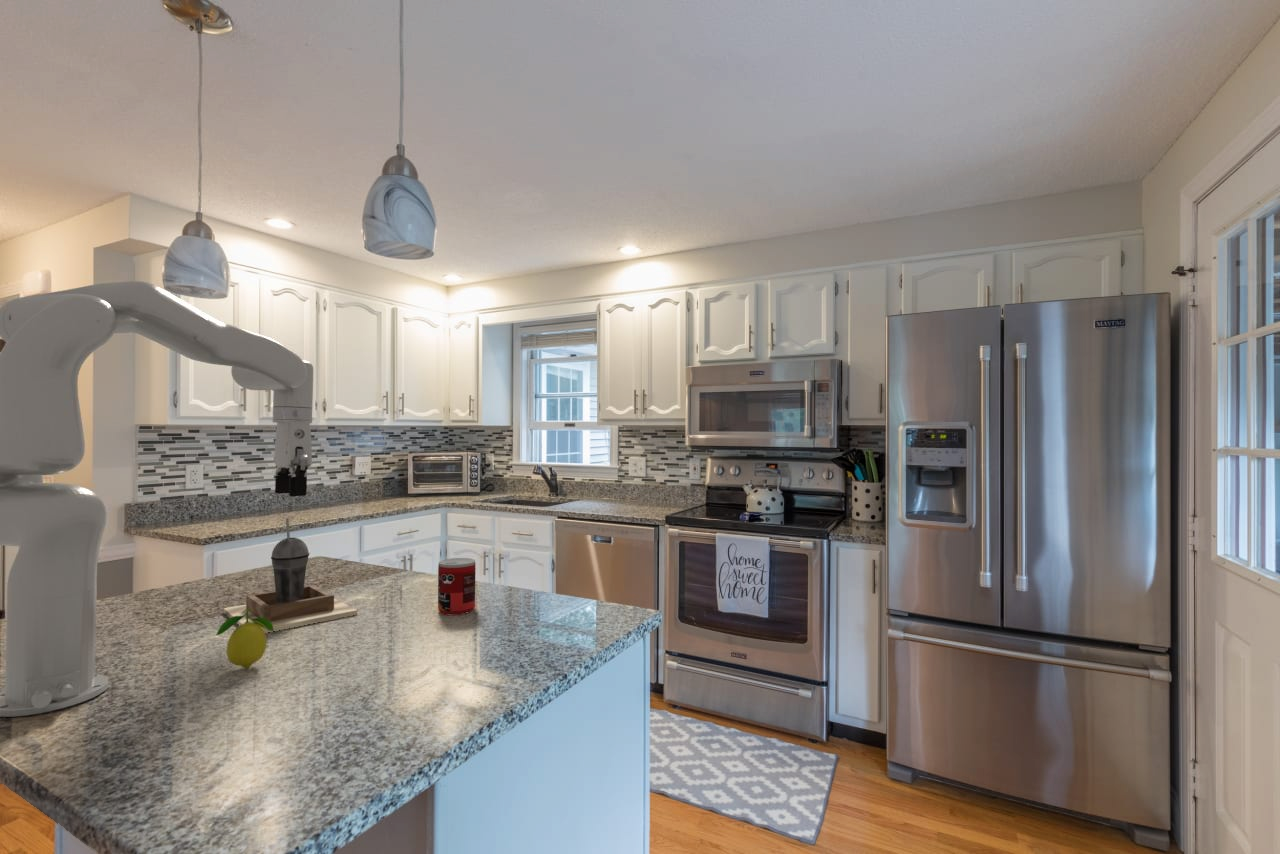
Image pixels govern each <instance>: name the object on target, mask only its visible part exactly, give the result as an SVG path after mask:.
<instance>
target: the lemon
mask: <svg viewBox="0 0 1280 854" xmlns="http://www.w3.org/2000/svg"><path fill="white" fill-rule="evenodd" d="M246 614H247V615H246ZM246 614H245V615H246V622H245V623H244V624H243V625H241V626H238V627H236V628H235V629H234V630H233V631H232V633H231V635H230V636H229V639H228V640H227V645H226V655H227V658H228V660H229V662H230V663H231V664H232V665H235V666H237V667H239V666H240V667H243V668H244V669H245V670H246V669H249V668H250V667H251V666H252V665H253V664H254V663H256V662H258V661H259V660H261V658H262V657H263V655H265V651H266V649H267V648H266V647H267V637H266V633H264V631H263V629H262V628H264V629H267V630H270V631H274V630H273V625H272V624H271V622H270V621H269V620H267V619H266V618H254V619H251V618H249V617H248V608H247V613H246ZM245 615H244V616H245ZM244 616H234V617H231V618H229V617H228V618H227V619H226V620H225V621H224V622H223V623H222V624H221V625H220V628H219V629H218V630H217V633H216V635H215V636H219V635H220V636H221V635H222V634H223V633H225V632H226V631H227V630H229V629H230V628H232V627H233V626H234V625H236V623H237V622H238V621H239V620H240V619H242V618H243V617H244ZM248 618H249V619H251V620H252V621H253V622H254V623H251V622H249V621H248ZM261 627H262V628H261Z"/></svg>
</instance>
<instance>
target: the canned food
mask: <svg viewBox="0 0 1280 854" xmlns="http://www.w3.org/2000/svg"><path fill="white" fill-rule="evenodd" d="M476 570H477V569H476V559H473V558H469V557H453V558H452V557H451V558H445V559H443V560H442V559H441V560H439V561H438V570H437V573H438V575H437V577H438V578H437V579H438V580H437V581H438V582H437V609H438V612H439V613H440V614H442V615H446V614H459V615H463V614H462V613H465V614H467V613H466V612H469V613H471V612H473V611H474V609H475V608H476V607H475V606H476ZM472 610H473V611H472ZM470 611H471V612H470Z"/></svg>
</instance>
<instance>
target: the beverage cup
mask: <svg viewBox="0 0 1280 854" xmlns="http://www.w3.org/2000/svg"><path fill="white" fill-rule="evenodd" d="M289 519H290V518H289V517H286V518H285V524H286V525H285V526H286V527H285V528H286V538H283V539H281V540H279V541H278V543H276V545H275V546H274V547H273V550H272V552H271V557H270V559H271V564H272V568H273V576H274V577H273V578H274V589H275V590H274V591H276V604H280V603H286V602H292V601H298V600H303V592H304V586H305V580H306V574H307V573H306V572H307V571H306V570H307V565H308V563H309V562H308V561H309V557H310V552H309V549H308V546H307V544H306V543H305V541H304V540H302V539H300V538H298V537H291V536H290V521H289Z"/></svg>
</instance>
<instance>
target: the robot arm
mask: <svg viewBox="0 0 1280 854" xmlns="http://www.w3.org/2000/svg"><path fill="white" fill-rule="evenodd" d="M124 333H125V334H126V333H132V334H133V333H135V334H137V335H141V336H142V337H145V338H146V339H149V340H151V341H153V342H155V343H157V344H159V345H160V346H162V347H163V346H164V347H165V348H167V349H169V350H171V351H174V352H175V353H178V354H179V355H182V356H183V357H186V358H188V359H190V360H193V361H196V362H201V363H205V364H210V365H211V364H212V365H217V366H219V365H220V366H226V367H231V368H230V369H231V371H230V373H231V376H232V379H233V380H234V382H235V383H236V384H237V385H238V386H240V387H241V388H244V389H247V390H250V391H273V396H272V397H273V399H272V401H273V404H272V423H274V424H276V430H275V439H274V440H275V441H274V442H275V443H274V465H275V468H276V469H275V476H274V477H275V480H274V481H275V482H274V483H275V484H274V486H275V487H274V493H275V494H288V496H290V497H305V496H306V495H307V489H308V488H307V486H308V485H307V484H308V472H307V470H308V469H309V468H310V467H312V464H313V462H312V461H313V455H312V454H313V451H312V431H311V430H312V429H311V424H313V399H314V398H313V397H314V366H313V363H311V362H310V361H307V360H303V359H302V358H301V357H300V356H299V355H298V354H297V353H295V352H294V351H293V350H291V349H289V348H288V347H286V346H285V345H283V344H282V343H279V342H278V341H276V340H274V339H272V338H270V337H267V336H264V335H262V334H259V333H255V332H253V331H250V330H246V329H243V328H241V327H238V326H235V325H232V324H228V323H226V322H222V321H220V320H217V319H216V318H214V317H212V316H210V315H209V314H206V313H205V312H202V311H201V310H199V309H198V308H196V307H195V306H192V305H191V304H189V303H187V302H186V301H184V300H183V299H181V298H179V297H177V296H176V295H174V294H172V293H170V292H169V291H167V290H165V289H163V288H161V287H160V286H158V285H155V284H153V283H150V282H148V281H139V280H133V281H132V280H131V281H130V280H129V281H115V282H104V283H97V284H91V285H85V286H81V287H76V288H69V289H64V290H58V291H51V292H47V293H40V294H34V295H26V296H21V297H17V298H13V299H11V300H9V301H7V302H5V303H4V304H3V305H1V306H0V338H1V339H2V340H3V341H4V342H5V345H3V347H2V349H1V351H0V546H6V547H8V546H9V547H19V548H18V551H17V553H16V555H15V557H14V560H13V562H12V565H11V567H10V570H9V573H8V577H7V582H6V583H7V585H6V624H5V626H6V628H5V629H6V630H5V631H6V633H5V636H6V637H5V640H6V641H5V669H4V670H5V676H4V681H5V682H4V683H5V684H4V692H2V693H1V694H0V717H5V718H6V717H7V718H10V717H13V718H15V717H24V716H25V717H26V716H31V715H32V716H33V715H38V714H43V713H49V712H54V711H57V710H61V709H65V708H69V707H72V706H75V705H78V704H81V703H83V702H86V701H88V700H91V699H94V698H95V697H97V696H99V695H101V694H102V693H103V692H105V691H106V690H107V689H108V686H109V678H108V677H107V676H106V675H104V674H100V673H99V674H98V673H96V644H97V641H96V640H97V639H96V638H97V635H96V634H97V594H98V593H97V591H98V589H97V588H98V586H97V585H98V584H97V583H98V580H97V578H98V562H99V553H100V547H101V543H102V539H103V536H104V531H105V528H106V524H107V523H106V522H107V509H106V506H105V504H104V501H103V500H102V499H101V497H100V496H99V495H98V494H96V493H95V491H92V490H90V489H88V488H87V487H84V486H80V485H76V484H71V483H60V482H59V483H58V482H57V483H55V482H43V481H44V480H43V476H50V475H51V476H52V475H53V476H55V475H59V474H63V473H67V472H69V471H72V470H74V469H75V468H76V467H77V466H79V464H80V463H81V462H82V460H83V458H84V456H85V450H86V449H85V448H86V446H85V445H86V444H85V435H84V426H83V422H82V421H83V420H82V414H81V406H80V400H79V386H78V385H79V384H78V381H79V374H80V370H81V368H82V366H83V364H84V363H85V361H86V360H87V358H88V357H89V356H90V355H91V354H93V352H94V351H96V350H97V349H98V348H100V347H101V346H103V345H105V344H106V343H107V342H108V341H109V340H110V339H112V337H113V336H114V334H124Z"/></svg>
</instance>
